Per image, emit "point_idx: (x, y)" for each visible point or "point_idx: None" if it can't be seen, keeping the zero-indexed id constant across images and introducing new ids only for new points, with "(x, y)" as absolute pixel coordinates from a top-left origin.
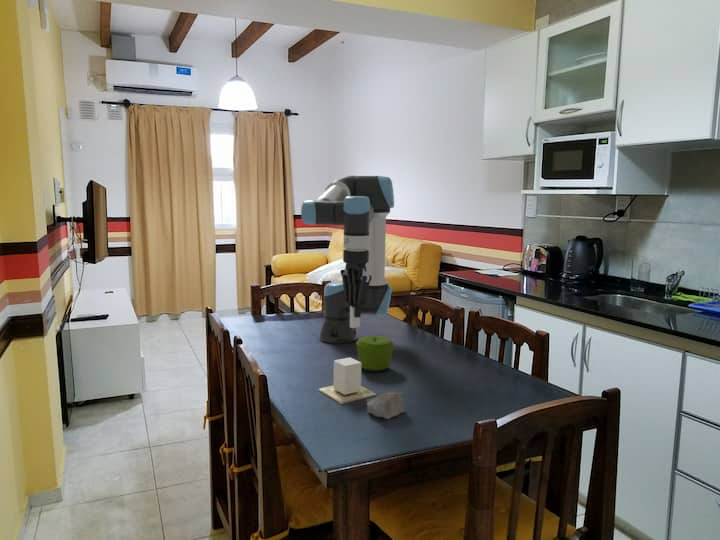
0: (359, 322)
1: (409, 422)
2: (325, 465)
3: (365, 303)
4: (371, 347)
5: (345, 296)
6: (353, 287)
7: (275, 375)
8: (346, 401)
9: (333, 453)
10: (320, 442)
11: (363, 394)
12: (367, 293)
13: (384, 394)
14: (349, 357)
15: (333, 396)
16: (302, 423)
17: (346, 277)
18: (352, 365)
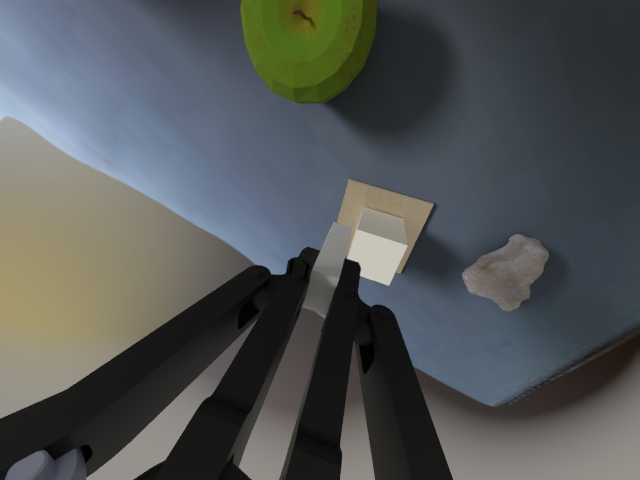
0: (349, 237)
1: (561, 269)
2: (489, 403)
3: (395, 321)
4: (334, 88)
5: (238, 320)
6: (293, 431)
7: (227, 238)
8: (404, 264)
9: (483, 384)
10: (451, 370)
11: (414, 223)
12: (422, 395)
13: (506, 279)
14: (357, 231)
15: None
16: None
17: (112, 441)
18: (396, 266)
